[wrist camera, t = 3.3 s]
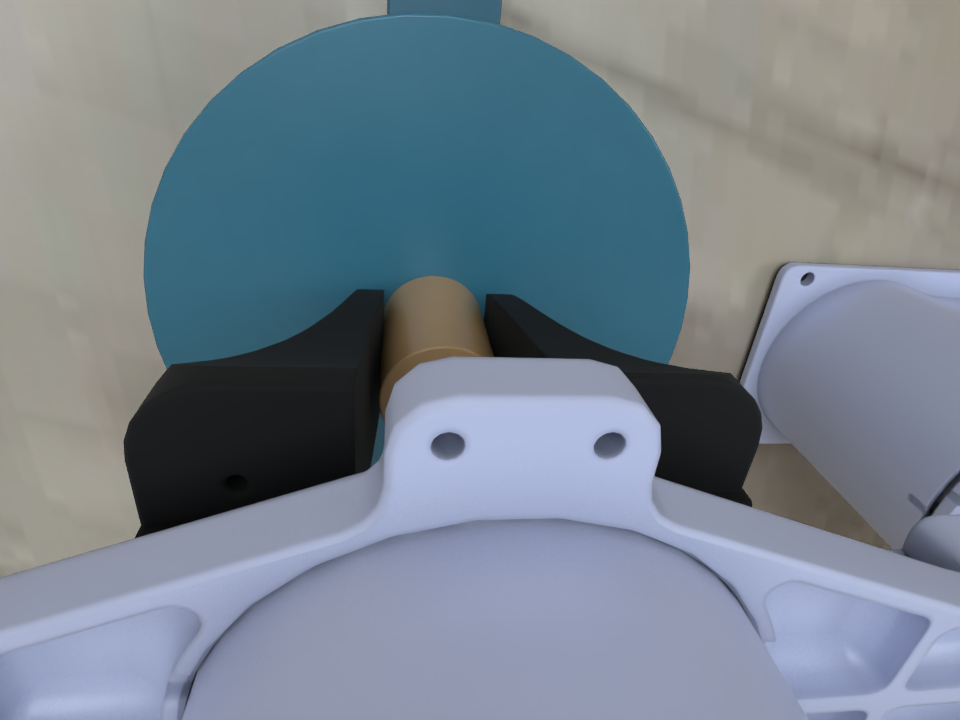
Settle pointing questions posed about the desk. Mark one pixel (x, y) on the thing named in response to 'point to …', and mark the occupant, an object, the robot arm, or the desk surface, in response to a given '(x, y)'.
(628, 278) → the lid
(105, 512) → the desk surface
